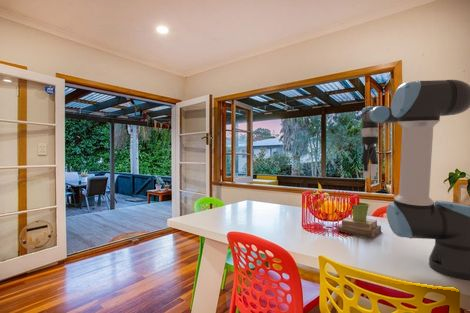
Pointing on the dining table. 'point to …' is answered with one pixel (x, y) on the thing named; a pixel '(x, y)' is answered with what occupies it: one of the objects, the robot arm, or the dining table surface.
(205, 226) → the dining table surface
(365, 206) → the plant pot
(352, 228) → the plinth
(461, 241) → the robot arm
